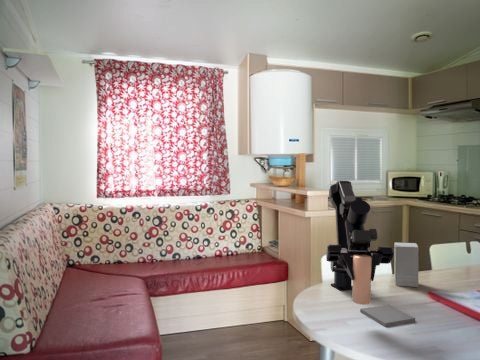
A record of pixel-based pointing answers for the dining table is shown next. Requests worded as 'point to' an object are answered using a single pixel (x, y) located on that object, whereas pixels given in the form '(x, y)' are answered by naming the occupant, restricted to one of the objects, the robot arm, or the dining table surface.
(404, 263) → the skincare box
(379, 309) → the mat
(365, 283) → the terracotta cylinder
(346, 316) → the dining table surface
